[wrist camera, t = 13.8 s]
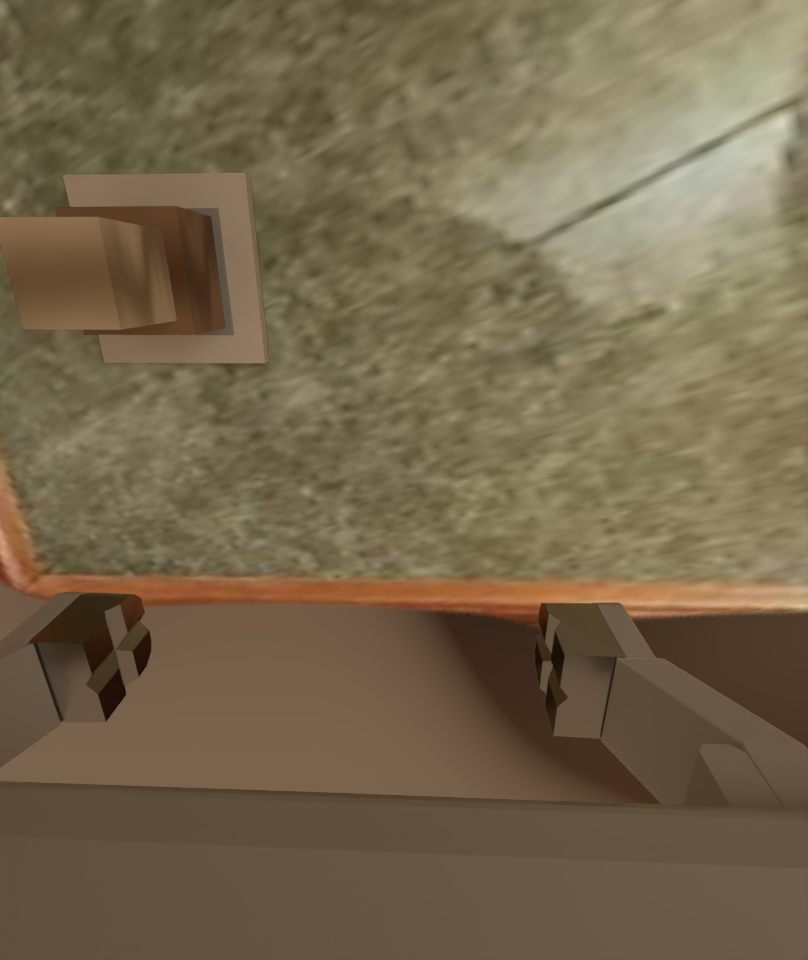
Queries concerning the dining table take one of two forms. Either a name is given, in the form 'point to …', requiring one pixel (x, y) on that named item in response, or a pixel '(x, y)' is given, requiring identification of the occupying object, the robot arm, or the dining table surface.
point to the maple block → (86, 273)
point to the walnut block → (174, 265)
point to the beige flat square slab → (234, 252)
